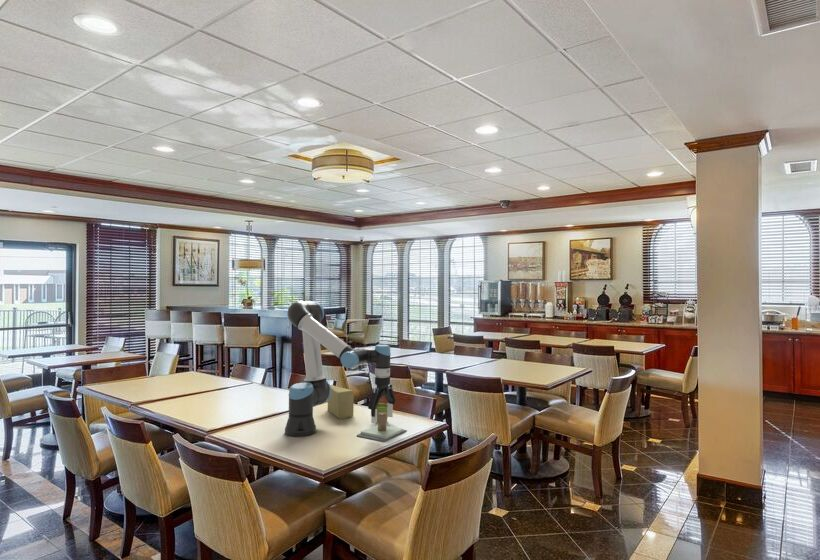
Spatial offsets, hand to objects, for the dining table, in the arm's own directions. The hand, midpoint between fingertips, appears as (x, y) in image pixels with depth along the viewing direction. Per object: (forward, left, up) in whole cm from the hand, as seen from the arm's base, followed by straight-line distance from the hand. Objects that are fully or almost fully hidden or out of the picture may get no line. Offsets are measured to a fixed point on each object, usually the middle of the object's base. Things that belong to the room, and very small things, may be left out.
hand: (382, 419), depth 232 cm
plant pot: (+18, +13, -7) cm, 23 cm away
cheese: (+17, +43, -7) cm, 47 cm away
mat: (0, 0, -7) cm, 7 cm away
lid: (0, 0, -6) cm, 6 cm away
